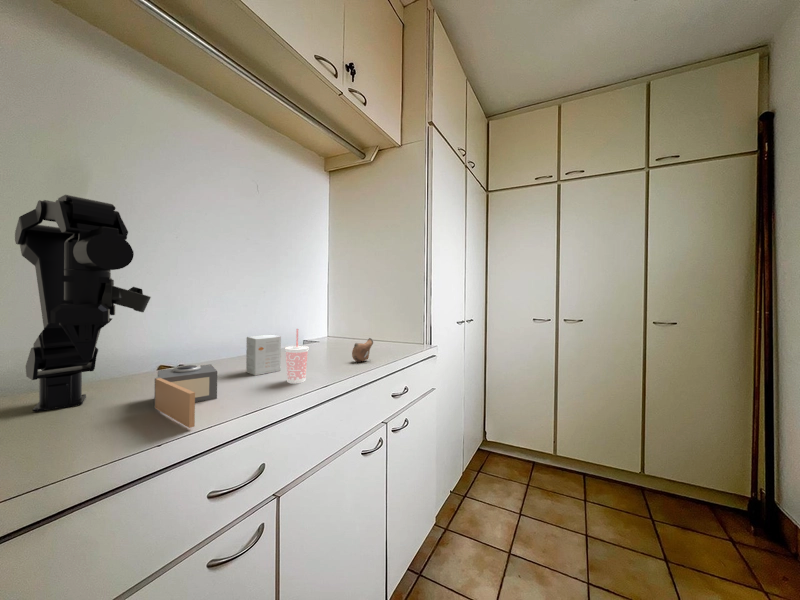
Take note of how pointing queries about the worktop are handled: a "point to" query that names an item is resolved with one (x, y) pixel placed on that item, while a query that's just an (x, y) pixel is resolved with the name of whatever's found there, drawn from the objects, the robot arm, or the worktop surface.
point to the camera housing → (194, 379)
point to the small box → (263, 354)
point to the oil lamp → (362, 350)
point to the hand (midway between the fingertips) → (87, 359)
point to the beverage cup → (296, 362)
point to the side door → (175, 402)
